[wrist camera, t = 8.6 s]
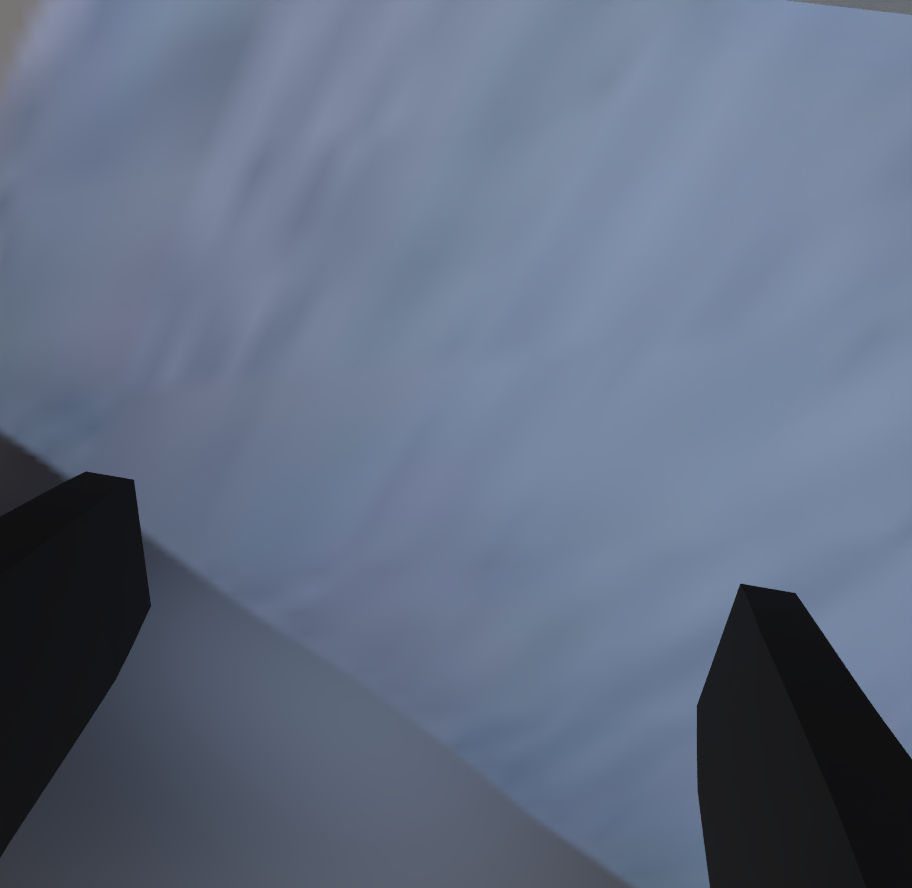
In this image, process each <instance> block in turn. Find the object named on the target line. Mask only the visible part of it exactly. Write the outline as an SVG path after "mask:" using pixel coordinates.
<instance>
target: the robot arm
mask: <svg viewBox="0 0 912 888" xmlns="http://www.w3.org/2000/svg"><path fill="white" fill-rule="evenodd" d="M150 607H151V603H150V595H149V588H148V582H147V574H146V566H145V558H144V551H143V544H142V536H141V529H140V521H139V514H138V507H137V499H136V492H135V485H134V480H132V479H126V478H120V477H115V476H109V475H103V474H97V473H91V472H84V473H82V474H80V475H78V476H76V477H74V478H72V479H70V480H68V481H66V482H64V483H62V484H60V485H58V486H56V487H54V488H52V489H50V490H48V491H47V492H45V493H43V494H41V495H39V496H37V497H35V498H34V499H32V500H30V501H28V502H26V503H24V504H23V505H21V506H19V507H17V508H15V509H14V510H12V511H10V512H8V513H6V514H4V515H3V516H1V517H0V857H1V856H2V854H3V852H4V850H5V849H6V847H7V845H8V844H9V842H10V841H11V839H12V838H13V836H14V835H15V833H16V832H17V830H18V829H19V827H20V826H21V824H22V823H23V821H24V819H25V818H26V816H27V815H28V813H29V812H30V810H31V809H32V807H33V806H34V804H35V803H36V801H37V800H38V798H39V797H40V795H41V793H42V792H43V790H44V789H45V788H46V786H47V785H48V783H49V782H50V780H51V778H52V777H53V775H54V774H55V772H56V771H57V769H58V768H59V766H60V765H61V763H62V761H63V760H64V759H65V757H66V756H67V754H68V753H69V751H70V749H71V748H72V746H73V745H74V743H75V741H76V740H77V739H78V737H79V736H80V734H81V733H82V731H83V730H84V728H85V727H86V725H87V723H88V722H89V720H90V719H91V717H92V716H93V714H94V712H95V711H96V710H97V708H98V706H99V705H100V703H101V702H102V700H103V699H104V697H105V695H106V694H107V692H108V691H109V689H110V687H111V686H112V684H113V683H114V681H115V680H116V678H117V676H118V674H119V672H120V670H121V668H122V666H123V664H124V662H125V660H126V658H127V656H128V654H129V652H130V650H131V648H132V646H133V644H134V641H135V639H136V637H137V635H138V633H139V631H140V628H141V626H142V624H143V622H144V620H145V618H146V615H147V613H148V611H149V609H150ZM697 778H698V796H699V805H700V813H701V821H702V829H703V836H704V844H705V852H706V860H707V867H708V875H709V882H710V888H912V759H911V757H910V756H909V755H908V753H907V752H906V751H905V749H904V748H903V747H902V745H901V744H900V743H899V741H898V740H897V738H896V737H895V736H894V734H893V733H892V732H891V730H890V729H889V728H888V726H887V725H886V723H885V722H884V721H883V719H882V718H881V717H880V715H879V714H878V712H877V711H876V710H875V708H874V707H873V705H872V704H871V703H870V701H869V700H868V698H867V697H866V695H865V694H864V693H863V691H862V690H861V688H860V687H859V685H858V684H857V682H856V681H855V680H854V678H853V677H852V675H851V674H850V672H849V671H848V669H847V668H846V667H845V665H844V664H843V662H842V661H841V659H840V658H839V656H838V655H837V653H836V652H835V650H834V649H833V647H832V646H831V644H830V643H829V642H828V640H827V639H826V637H825V636H824V634H823V633H822V631H821V630H820V628H819V627H818V625H817V624H816V622H815V621H814V619H813V618H812V617H811V615H810V614H809V612H808V611H807V609H806V608H805V606H804V605H803V603H802V602H801V601H800V599H799V598H798V596H797V595H796V593H791V592H786V591H780V590H774V589H768V588H762V587H756V586H751V585H745V584H740V587H739V589H738V592H737V595H736V598H735V601H734V603H733V606H732V609H731V612H730V615H729V617H728V620H727V623H726V626H725V629H724V631H723V634H722V637H721V640H720V643H719V646H718V648H717V651H716V654H715V657H714V660H713V662H712V665H711V668H710V671H709V674H708V676H707V679H706V682H705V685H704V688H703V691H702V693H701V696H700V699H699V702H698V705H697Z"/></svg>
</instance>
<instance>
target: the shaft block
mask: <svg viewBox="0 0 912 888" xmlns="http://www.w3.org/2000/svg"><path fill="white" fill-rule="evenodd" d="M789 1H797V2H806V3H814V4H823V5H832V6H840V7H849V8H858V9H866V10H875V11H883V12H892V13H901V14H909V15H912V0H789Z"/></svg>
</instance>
